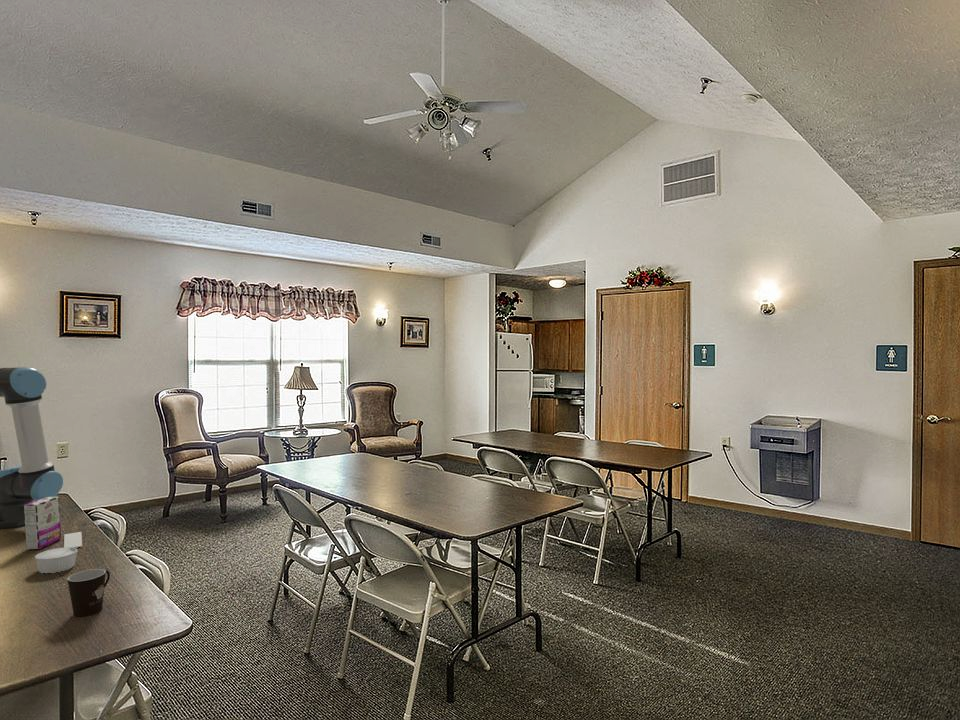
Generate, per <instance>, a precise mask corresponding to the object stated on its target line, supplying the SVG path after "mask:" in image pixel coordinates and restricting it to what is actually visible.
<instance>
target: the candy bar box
mask: <svg viewBox="0 0 960 720" xmlns="http://www.w3.org/2000/svg"><path fill="white" fill-rule="evenodd" d="M24 515H25V525H24V526H25V528H24V530H25V546H26V550H27V549H40V550H41V548H42V549H43V547H44V548H46V547H48V546H50V544H51V545H52V543H53V544H55V543H57V542H59V541H61V540H62V532H61V531H62V529H61V511H60V497H59V496H55V497H46V498H43V499H40V500H33V502H32V503H29V504H26V505H24ZM60 539H61V540H60ZM58 540H59V541H58ZM56 541H57V542H56ZM54 542H55V543H54ZM47 545H48V546H47ZM45 546H46V547H45Z"/></svg>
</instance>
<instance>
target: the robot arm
mask: <svg viewBox="0 0 960 720" xmlns="http://www.w3.org/2000/svg"><path fill="white" fill-rule="evenodd" d="M46 388H47V379H46V377H45V375H44V374H43V373H42V372H41V371H39V370H37V369H36V368H32V367H24V366H21V367H19V366H18V367H1V368H0V398H4V402H5V405H6V406H8V407H10V408H11V413H12V418H13V424H14V430H15V434H16V439H17V446H18V452H19V456H20V457H19V458H20V463H21V465H20V466H14V467H10V468H9V467H8V468H3V469H0V529H8V528H9V529H10V528H16V527H18V528H19V527H23V526H25V515H24V505H26V504H29V503H32V502H34V501H37V500H40V499H43V498H46V497H57V495H58V494H59V493H60V491H62V488H63V486H64V478H63V475H62V474H61V473H59V472H58V471H56V470H55V465H54V463H53V462H52V461H50V460H49V457H48V451H47V444H46V441H45V434H44V428H43V423H42V418H41V411H40V407H39V403H40V402H41V401H42V400H43V397H42V394H43V393H44V392H45V390H46Z"/></svg>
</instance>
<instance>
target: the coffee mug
mask: <svg viewBox="0 0 960 720" xmlns="http://www.w3.org/2000/svg"><path fill="white" fill-rule="evenodd" d="M106 576H107V577H106ZM66 579H67V585H68V590H69V596H70V601H71V607H72V611H73V613H72V614H73V616H74V617H75V618H87V617H90V616H91V617H92V616H94V615H96V614H99V613H101V612H102V610H103V604H104V603H103V602H104V594H105V588H106V587H107V585H108V583H109V581H110V579H111V573H110V571H109V570H106V569H102V568H93V569H92V568H91V569H86V570H85V569H84V570H81V571H78V572H75V573H73V574H71V575H69V576H68V577H67V578H66Z"/></svg>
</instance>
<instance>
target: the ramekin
mask: <svg viewBox="0 0 960 720" xmlns="http://www.w3.org/2000/svg"><path fill="white" fill-rule="evenodd" d="M77 555H78V548H72V547H64V546H63V547H57V548H52V549H47V550H45V551H44V550H43V551H42V552H39V553H37V554H35V555H34V560H35V562H36V563H35V564H36V567H37V568H36V569H37V571H38V572H39V573H40V574H43V573H46V575H48V574H47V573H52V574H56V572H58V573H61V571H62V572H65V571H68V570H70V569H72V568H73V567H74V566H75V564H76V559H77Z"/></svg>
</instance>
